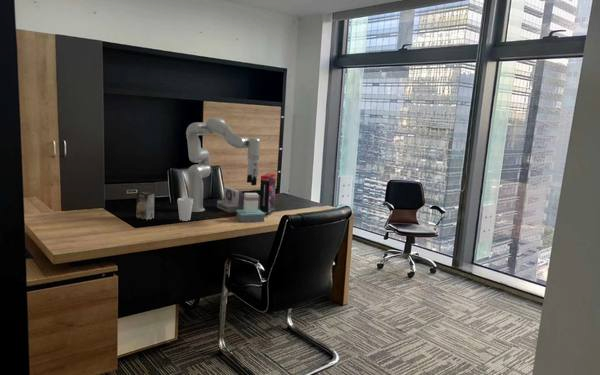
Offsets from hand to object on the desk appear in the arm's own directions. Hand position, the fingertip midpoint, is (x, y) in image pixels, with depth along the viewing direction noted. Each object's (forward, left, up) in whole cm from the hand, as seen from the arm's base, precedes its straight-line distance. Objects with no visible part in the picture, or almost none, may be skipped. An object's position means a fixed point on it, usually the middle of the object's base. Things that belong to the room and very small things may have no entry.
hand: (251, 183), depth 282 cm
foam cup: (-41, +5, -24) cm, 47 cm away
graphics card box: (+17, +17, -24) cm, 34 cm away
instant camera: (-2, +33, -24) cm, 41 cm away
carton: (0, 0, -18) cm, 18 cm away
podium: (0, 0, -24) cm, 24 cm away
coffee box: (-64, +12, -24) cm, 69 cm away
